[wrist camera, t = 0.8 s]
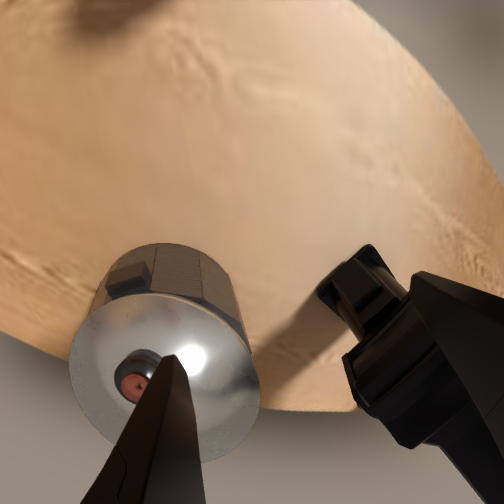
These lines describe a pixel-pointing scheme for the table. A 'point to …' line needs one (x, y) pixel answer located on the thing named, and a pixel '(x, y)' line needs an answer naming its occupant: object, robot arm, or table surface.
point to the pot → (173, 280)
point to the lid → (148, 357)
